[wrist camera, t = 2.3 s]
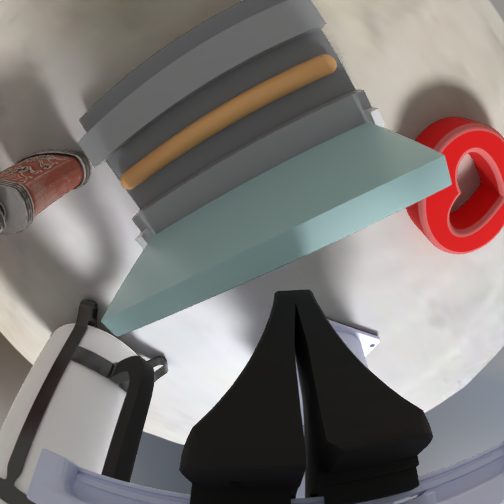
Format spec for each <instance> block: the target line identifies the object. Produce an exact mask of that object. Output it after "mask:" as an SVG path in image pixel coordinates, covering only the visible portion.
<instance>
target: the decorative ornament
mask: <svg viewBox="0 0 504 504" xmlns="http://www.w3.org/2000/svg"><path fill="white" fill-rule="evenodd" d="M415 141H416V142H418V143H421V144H423V145H425V146H427V147H429V148H431V149H433V150H435V151H437V152H439V153H441V154H443V155H445V158H446V162H447V166H448V170H449V174H450V178H451V183H452V185H450V186H448V187H446V188H444V189H442V190H440V191H438V192H436V193H434V194H432V195H430V196H428V197H426V198H424V199H422V200H420V201H418V202H416V203H414V204H412V205H410V206H408V207H406V210H407V212H408V214H409V216H410V218H411V219H412V221H413V222H414V224H415V225H416V226H417V227H418V228H419V229H420V230H421V231H422V233H423V234H424V235H425V236H426V237H427V238H428V239H429V241H430V242H431V243H432V244H433V245H434V246H436V247H437V248H438V249H440V250H442V251H444V252H448V253H452V254H466V253H470V252H473V251H475V250H477V249H480V248H481V247H483V246H485V245H486V244H488V243H489V242H490V241H491V240H492V239H493V238H494V237H495V236H496V235H497V234H498V233H499V232H500V230H501V229H502V228H503V226H504V138H503V137H502V136H501V134H500V133H499V132H497V131H496V130H495V129H493V128H491V127H489V126H487V125H484V124H481V123H477V122H474V121H471V120H468V119H464V118H459V117H449V118H444V119H441V120H439V121H437V122H435V123H433V124H431V125H430V126H428V127H427V128H426V129H425V130H424V131H423V132H422V133H421V134H420V135H419V136H418V138H417V139H416V140H415ZM467 153H468V154H469V155H470V156H471V158H472V159H473V161H474V163H475V165H476V167H477V170H478V173H479V176H480V179H481V185H480V187H479V188H478V189H477V190H476V192H475V193H474V194H473V195H472V197H471V198H470V199H469V200H468V201H467V202H466V203H465V204H464V205H463V206H462V207H460V208H459V209H458V210H456V211H454V212H452V213H450V210H451V208H452V205H453V203H454V202H455V200H456V199H457V197H458V196H459V195H460V194H461V193H462V191H461V190H460V188H459V185H458V181H457V170H458V166H459V163H460V161H461V159H462V158H463V157H464V156H465V155H466V154H467Z"/></svg>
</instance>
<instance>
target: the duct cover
mask: <svg viewBox="0 0 504 504" xmlns="http://www.w3.org/2000/svg"><path fill="white" fill-rule="evenodd" d="M450 185H452V183H451V178H450V174H449V170H448V166H447V162H446V158H445V155H443V154H441V153H439V152H437V151H435V150H433V149H431V148H429V147H427V146H425V145H423V144H421V143H418V142H416V141H414V140H412V139H409V138H407V137H405V136H403V135H400V134H398V133H395V132H393V131H391V130H388V129H386V128H383V127H381V126H378V125H375V124H373V123H370V122H367V123H364V124H362V125H360V126H358V127H356V128H353V129H351V130H349V131H347V132H345V133H342V134H340V135H338V136H336V137H334V138H332V139H330V140H328V141H326V142H324V143H321V144H319V145H317V146H315V147H313V148H311V149H309V150H307V151H305V152H303V153H301V154H299V155H297V156H295V157H293V158H291V159H289V160H287V161H285V162H283V163H281V164H280V165H278V166H276V167H274V168H272V169H270V170H268V171H266V172H264V173H262V174H260V175H259V176H257V177H255V178H253V179H251V180H249V181H247V182H246V183H244V184H242V185H240V186H238V187H236V188H235V189H233V190H231V191H229V192H227V193H226V194H224V195H222V196H220V197H219V198H217V199H215V200H213V201H212V202H210V203H208V204H206V205H205V206H203V207H201V208H199V209H198V210H196V211H194V212H193V213H191V214H189V215H187V216H186V217H184V218H182V219H181V220H179V221H177V222H176V223H174V224H172V225H171V226H169V227H167V228H166V229H164V230H163V231H161V232H159V233H158V234H156V235H154V236H153V237H152V238H151V239H150V241H149V242H148V244H147V245H146V247H145V249H144V250H143V252H142V253H141V255H140V256H139V258H138V259H137V261H136V263H135V264H134V266H133V267H132V269H131V271H130V272H129V274H128V275H127V277H126V279H125V280H124V282H123V284H122V285H121V287H120V289H119V290H118V292H117V294H116V295H115V297H114V299H113V301H112V302H111V304H110V306H109V308H108V309H107V311H106V313H105V315H104V316H103V318H102V320H101V322H102V323H103V324H104V325H105V326H106V327H107V328H108V329H109V330H110V331H111V332H112V333H113V334H114V335H115V336H116V337H119V336H121V335H123V334H126V333H128V332H131V331H133V330H136V329H138V328H141V327H143V326H145V325H148V324H150V323H153V322H155V321H157V320H160V319H162V318H165V317H167V316H169V315H172V314H174V313H176V312H179V311H181V310H183V309H186V308H188V307H190V306H193V305H195V304H197V303H200V302H202V301H204V300H207V299H209V298H211V297H214V296H216V295H218V294H221V293H223V292H225V291H227V290H230V289H232V288H234V287H237V286H239V285H241V284H243V283H246V282H248V281H250V280H252V279H255V278H257V277H259V276H261V275H264V274H266V273H268V272H270V271H272V270H275V269H277V268H279V267H281V266H283V265H286V264H288V263H290V262H292V261H294V260H297V259H299V258H301V257H303V256H305V255H308V254H310V253H312V252H314V251H316V250H318V249H320V248H323V247H325V246H327V245H329V244H331V243H333V242H335V241H338V240H340V239H342V238H344V237H346V236H348V235H350V234H352V233H355V232H357V231H359V230H361V229H363V228H365V227H367V226H369V225H371V224H373V223H375V222H378V221H380V220H382V219H384V218H386V217H388V216H390V215H392V214H394V213H396V212H398V211H400V210H402V209H404V208H406V207H408V206H410V205H412V204H414V203H416V202H418V201H420V200H422V199H424V198H426V197H428V196H430V195H432V194H434V193H436V192H438V191H440V190H442V189H444V188H446V187H448V186H450Z"/></svg>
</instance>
